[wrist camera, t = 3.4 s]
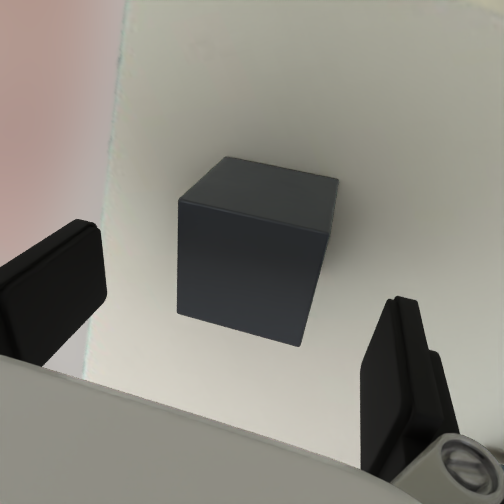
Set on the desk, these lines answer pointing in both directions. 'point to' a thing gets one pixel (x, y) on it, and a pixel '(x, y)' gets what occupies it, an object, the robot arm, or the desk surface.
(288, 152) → the desk surface
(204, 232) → the block
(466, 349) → the desk surface
